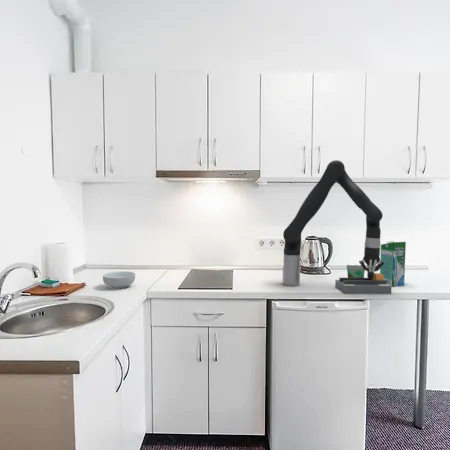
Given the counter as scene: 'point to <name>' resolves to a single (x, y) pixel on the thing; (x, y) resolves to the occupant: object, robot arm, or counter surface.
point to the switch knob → (378, 276)
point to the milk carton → (393, 262)
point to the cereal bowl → (119, 279)
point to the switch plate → (362, 286)
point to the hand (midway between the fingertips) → (370, 278)
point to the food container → (355, 271)
